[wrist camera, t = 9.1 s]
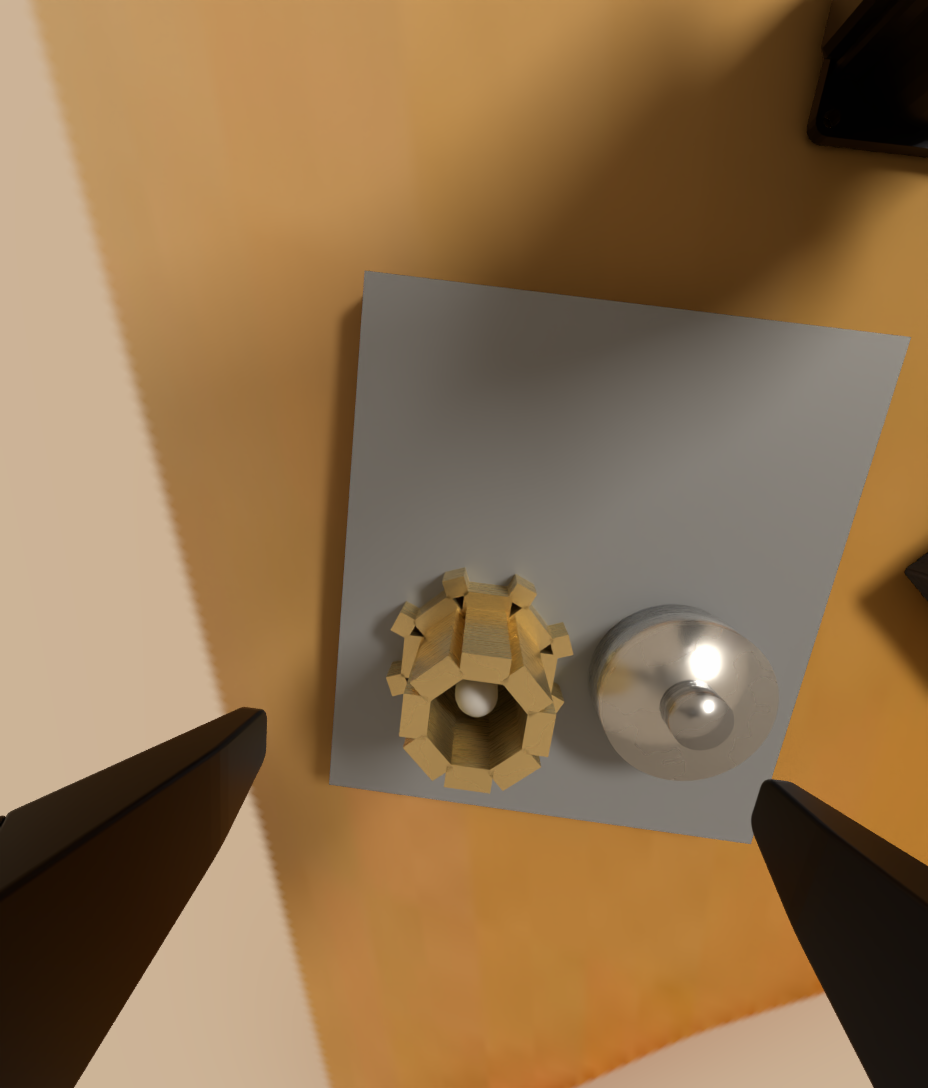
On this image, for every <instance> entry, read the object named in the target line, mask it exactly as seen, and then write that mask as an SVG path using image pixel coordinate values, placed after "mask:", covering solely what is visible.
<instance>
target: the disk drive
mask: <svg viewBox="0 0 928 1088" xmlns="http://www.w3.org/2000/svg"><path fill="white" fill-rule="evenodd" d="M905 575H906V576H907V577H908V578H909V579H910V581H911V582H912V583H913V584H914V585H915V587H916V588H917V589H918V590H919V591H920V592H921V594H922V596H923V597H924V598H926V599H927V601H928V553H926V554H924V555H923V556H922V557H921V558H919V559H918V560H917V562H915V563H913V564H911V565H910V566H908V567H907V568H906V570H905Z"/></svg>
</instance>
